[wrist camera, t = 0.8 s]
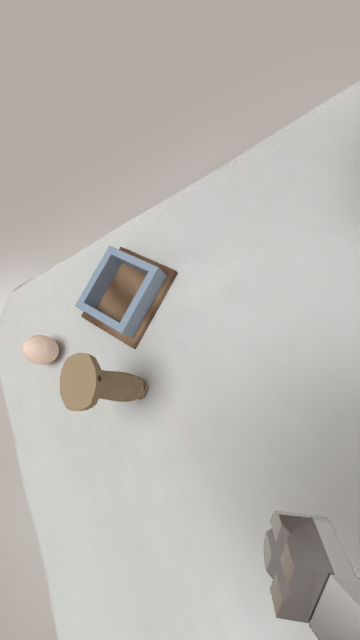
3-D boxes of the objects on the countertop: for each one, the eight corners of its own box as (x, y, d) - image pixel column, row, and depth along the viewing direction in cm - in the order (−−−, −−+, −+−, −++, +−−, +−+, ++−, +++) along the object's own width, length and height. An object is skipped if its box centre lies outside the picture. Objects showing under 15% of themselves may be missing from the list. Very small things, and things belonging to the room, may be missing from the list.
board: (123, 249, 58) (120, 246, 57) (177, 273, 53) (175, 270, 52) (84, 318, 57) (81, 316, 56) (135, 348, 52) (132, 347, 51)
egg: (68, 360, 56) (39, 354, 50) (46, 370, 57) (15, 366, 51) (63, 335, 58) (34, 326, 52) (41, 345, 59) (11, 338, 53)
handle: (151, 365, 50) (94, 349, 37) (155, 408, 48) (96, 407, 35) (124, 370, 52) (59, 357, 38) (126, 412, 50) (60, 413, 36)
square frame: (120, 254, 57) (109, 245, 54) (167, 275, 52) (158, 267, 49) (88, 311, 56) (75, 305, 53) (132, 338, 52) (121, 333, 48)
